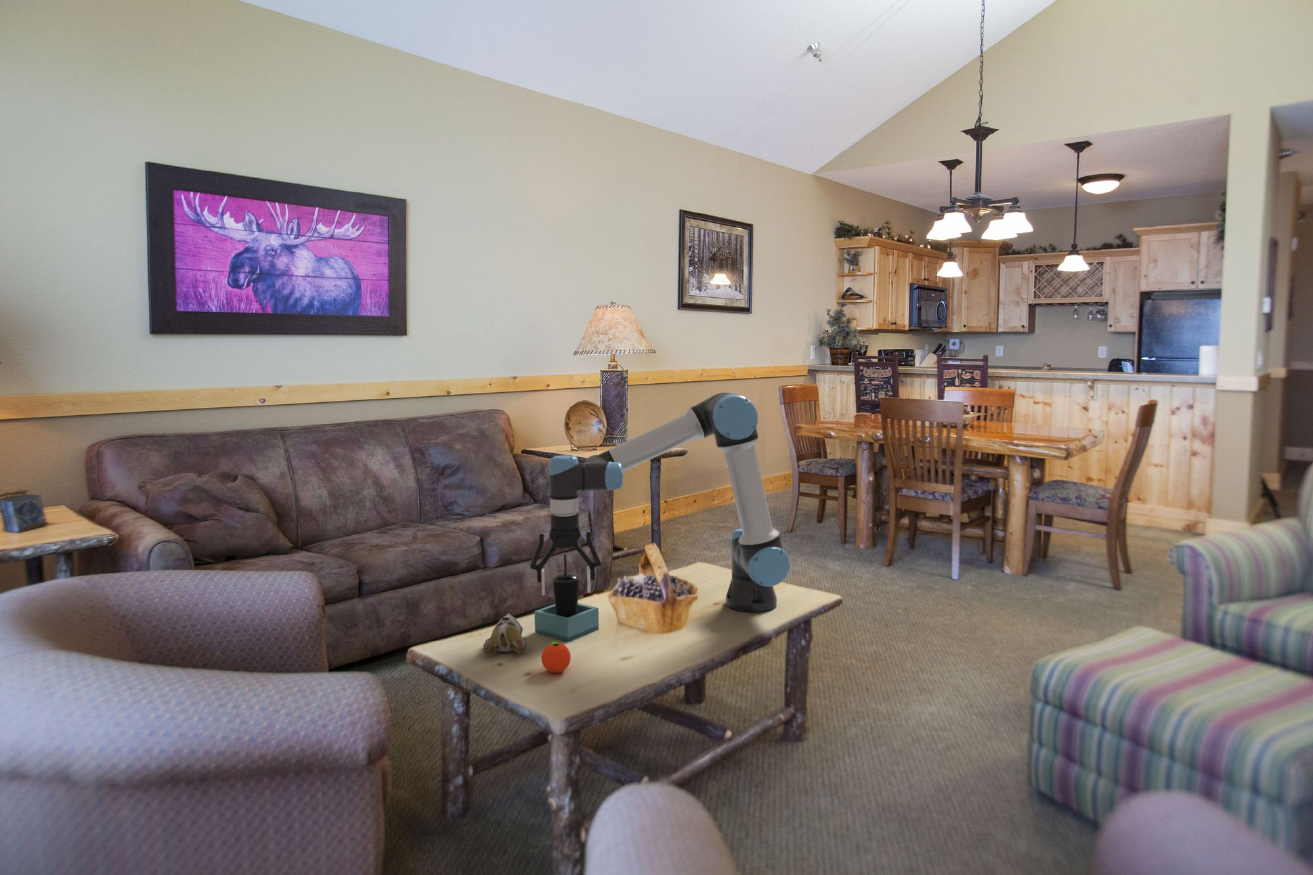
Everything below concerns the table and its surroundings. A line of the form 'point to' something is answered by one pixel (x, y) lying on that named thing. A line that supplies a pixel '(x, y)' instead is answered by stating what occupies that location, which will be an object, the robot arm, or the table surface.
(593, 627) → the teal bin
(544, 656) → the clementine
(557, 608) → the drinking cup
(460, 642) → the table surface
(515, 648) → the ceramic sculpture
